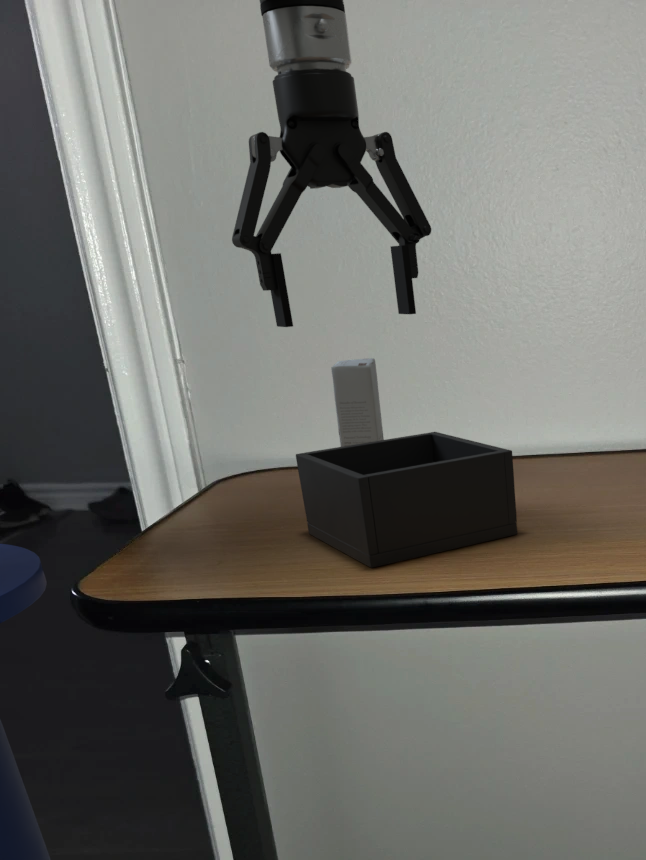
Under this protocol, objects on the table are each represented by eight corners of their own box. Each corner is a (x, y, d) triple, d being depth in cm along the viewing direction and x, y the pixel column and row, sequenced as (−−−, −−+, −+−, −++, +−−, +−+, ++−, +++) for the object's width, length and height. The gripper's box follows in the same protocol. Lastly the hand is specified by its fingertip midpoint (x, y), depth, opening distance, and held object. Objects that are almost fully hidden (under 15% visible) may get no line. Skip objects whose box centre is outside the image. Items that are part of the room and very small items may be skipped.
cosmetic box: (350, 473, 106) (333, 360, 100) (389, 470, 106) (375, 357, 100) (344, 484, 100) (326, 365, 95) (385, 482, 100) (370, 363, 95)
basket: (371, 568, 72) (358, 478, 69) (308, 533, 83) (295, 454, 80) (517, 534, 79) (512, 450, 76) (443, 506, 89) (435, 431, 86)
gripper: (187, 60, 77) (240, 333, 87) (449, 69, 89) (470, 309, 99) (165, 76, 83) (218, 331, 93) (414, 82, 95) (437, 308, 104)
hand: (348, 320), depth 96 cm, fingers open, 13 cm apart
